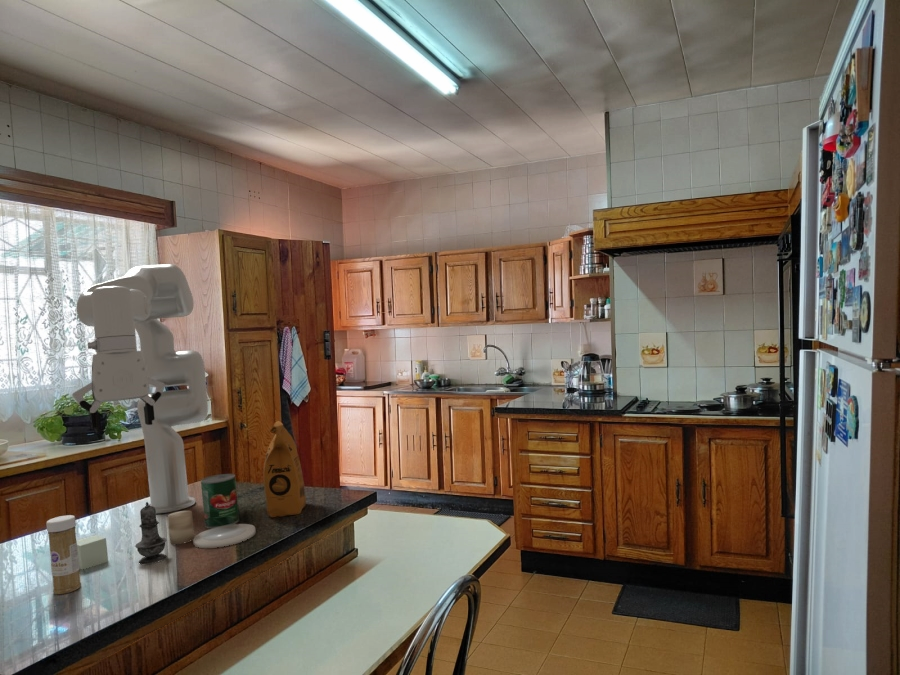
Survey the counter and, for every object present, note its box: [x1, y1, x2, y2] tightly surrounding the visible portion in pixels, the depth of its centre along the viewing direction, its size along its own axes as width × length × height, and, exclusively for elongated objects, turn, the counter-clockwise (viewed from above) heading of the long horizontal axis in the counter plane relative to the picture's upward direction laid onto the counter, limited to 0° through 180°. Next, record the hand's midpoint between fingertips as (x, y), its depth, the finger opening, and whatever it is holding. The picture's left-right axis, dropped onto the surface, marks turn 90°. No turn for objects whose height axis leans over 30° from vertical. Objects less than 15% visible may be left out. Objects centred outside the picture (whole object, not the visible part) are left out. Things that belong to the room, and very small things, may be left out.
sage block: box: [76, 534, 109, 571], centre depth 131 cm, size 5×5×5 cm
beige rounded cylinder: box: [167, 510, 195, 545], centre depth 142 cm, size 5×5×6 cm
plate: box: [192, 523, 256, 549], centre depth 141 cm, size 13×13×1 cm
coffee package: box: [262, 420, 307, 518], centre depth 159 cm, size 10×12×22 cm
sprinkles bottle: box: [46, 514, 82, 595], centre depth 117 cm, size 5×5×13 cm
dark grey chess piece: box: [134, 501, 168, 565], centre depth 130 cm, size 6×6×12 cm
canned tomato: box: [200, 473, 240, 529], centre depth 153 cm, size 8×8×11 cm
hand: (124, 428), depth 132 cm, fingers open, 9 cm apart
